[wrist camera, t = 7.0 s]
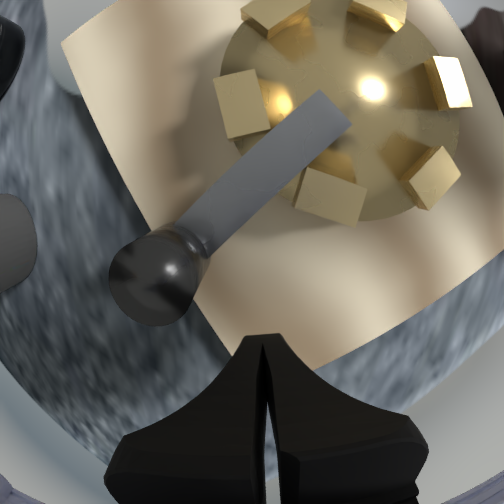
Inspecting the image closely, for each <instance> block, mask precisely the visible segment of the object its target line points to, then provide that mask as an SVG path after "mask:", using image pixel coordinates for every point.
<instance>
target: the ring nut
mask: <svg viewBox="0 0 504 504" xmlns="http://www.w3.org/2000/svg"><path fill="white" fill-rule="evenodd" d="M406 9H407V2H406V1H404V0H252V1H251V2H249V3H248V4H246V5H245V6H243V7H242V8H240V11H241V20H242V21H244V22H243V23H242V24H241V25H240V26H239V28H238V29H237V30H236V32H235V33H234V35H233V36H232V38H231V40H230V42H229V44H228V46H227V48H226V51H225V54H224V58H223V61H222V64H221V72H220V77H217V78H213V81H214V85H215V89H216V93H217V97H218V101H219V105H220V109H221V113H222V117H223V121H224V125H225V129H226V133H227V137H228V140H229V141H230V142H233V141H234V143H235V145H236V147H237V149H238V151H239V153H240V154H241V156H242V157H241V158H240V159H239V160H238V161H237V162H236V163H235V164H234V165H233V166H232V167H231V168H230V169H229V170H228V171H226V172H225V173H224V174H223V175H222V176H221V177H220V178H219V179H218V180H217V181H216V182H215V183H214V184H213V185H212V186H211V187H210V188H209V189H208V190H207V191H206V192H205V193H204V194H203V195H202V196H201V197H200V198H199V199H198V200H197V201H196V202H195V203H194V204H193V205H192V206H191V207H190V208H189V209H188V210H187V211H186V212H185V213H184V214H183V215H182V216H181V217H180V218H179V220H178V221H172V222H169V223H166V224H164V225H162V226H160V227H158V228H157V229H155V230H153V231H151V232H149V233H147V234H146V235H144V236H142V237H140V238H138V239H137V240H135V241H133V242H131V243H130V244H128V245H126V246H124V247H123V248H122V249H121V250H120V251H119V252H118V253H117V254H116V255H115V257H114V259H113V261H112V263H111V266H110V270H109V286H110V290H111V293H112V296H113V298H114V300H115V302H116V303H117V305H118V306H119V308H120V309H121V310H122V311H123V312H124V313H125V314H126V315H127V316H129V317H130V318H131V319H133V320H135V321H137V322H139V323H141V324H144V325H148V326H165V325H169V324H171V323H173V322H175V321H177V320H178V319H180V318H181V317H182V316H183V315H184V314H185V313H186V311H187V310H188V308H189V306H190V304H191V302H192V300H193V298H194V296H195V293H196V291H197V289H198V287H199V285H200V283H201V281H202V279H203V277H204V275H205V273H206V271H207V269H208V267H209V264H210V261H211V255H212V254H213V253H214V252H215V251H216V250H217V249H218V248H220V247H221V246H222V245H223V244H224V243H225V242H226V241H227V240H228V239H229V238H230V237H231V236H232V235H233V234H234V233H235V232H236V231H237V230H238V229H239V228H241V227H242V226H243V225H244V224H245V223H246V222H247V221H248V220H249V219H250V218H251V217H252V216H253V215H254V214H255V213H256V212H257V211H259V210H260V209H261V208H262V207H263V206H264V205H265V204H266V203H267V202H268V201H269V200H270V199H271V198H272V197H273V196H275V195H276V194H277V193H278V194H279V195H281V196H282V197H284V198H285V199H287V200H289V201H291V202H292V205H291V206H292V207H294V208H296V209H299V210H302V211H305V212H308V213H312V214H315V215H318V216H321V217H324V218H327V219H330V220H333V221H336V222H339V223H342V224H345V225H348V226H351V227H354V228H355V227H356V224H357V221H373V220H380V219H385V218H389V217H392V216H395V215H398V214H401V213H403V212H405V211H407V210H409V209H411V208H413V207H414V206H416V207H417V208H419V209H424V210H428V211H429V210H430V209H431V208H432V207H433V206H434V205H435V204H436V203H437V201H438V200H439V199H440V198H441V197H442V196H443V195H444V194H445V193H446V192H447V190H448V189H449V188H450V187H451V186H452V185H453V184H454V182H455V181H456V180H457V179H458V178H459V177H460V175H461V174H460V172H459V170H458V168H457V167H456V165H455V163H454V162H453V158H454V155H455V151H456V147H457V143H458V136H459V110H464V109H468V108H472V107H473V106H472V102H471V99H470V95H469V92H468V88H467V85H466V82H465V79H464V76H463V73H462V70H461V67H460V64H459V61H458V59H457V58H449V57H440V55H439V53H438V52H437V50H436V49H435V47H434V46H433V45H432V44H431V42H430V41H429V40H428V39H427V37H426V36H425V35H424V34H423V33H422V32H421V31H420V30H419V29H418V28H417V27H416V26H415V25H414V24H413V23H412V22H410V21H409V20H408V19H407V18H405V17H406Z"/></svg>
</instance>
